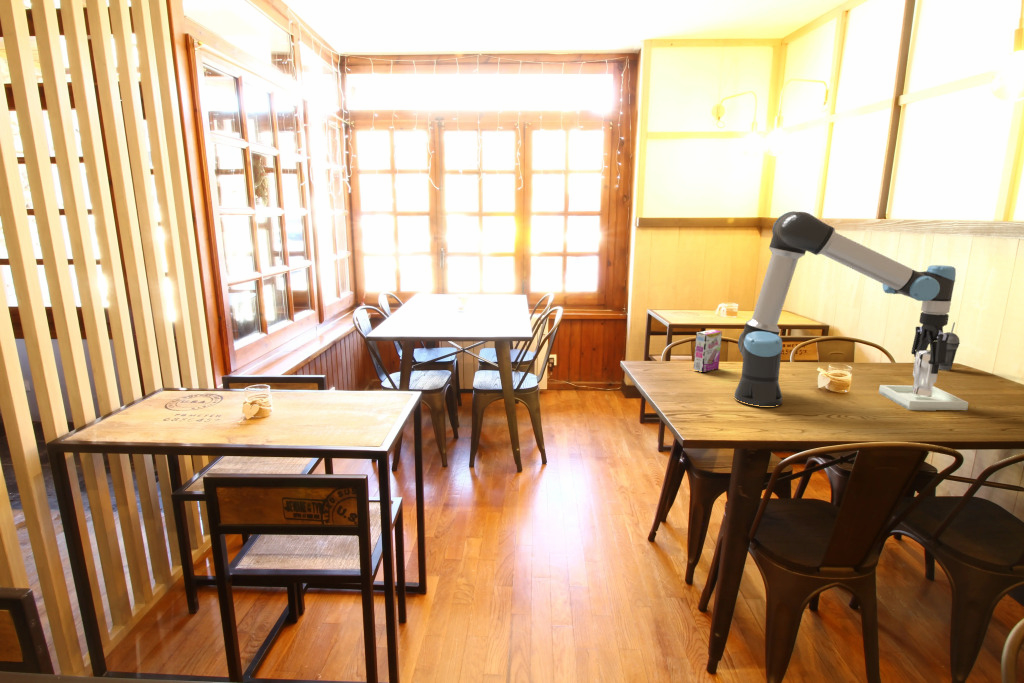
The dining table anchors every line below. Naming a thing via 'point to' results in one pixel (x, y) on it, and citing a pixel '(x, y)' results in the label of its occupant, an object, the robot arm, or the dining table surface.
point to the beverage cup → (950, 350)
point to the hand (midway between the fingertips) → (924, 379)
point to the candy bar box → (707, 350)
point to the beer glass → (922, 374)
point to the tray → (922, 398)
